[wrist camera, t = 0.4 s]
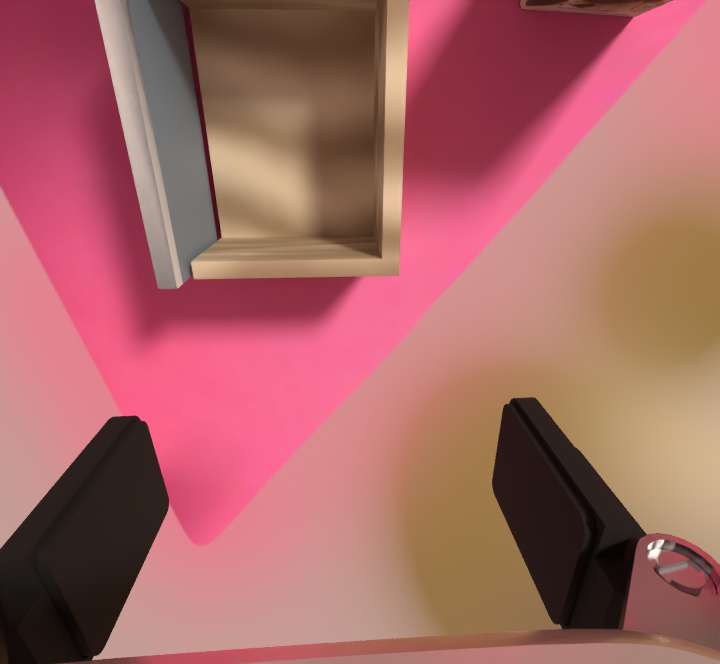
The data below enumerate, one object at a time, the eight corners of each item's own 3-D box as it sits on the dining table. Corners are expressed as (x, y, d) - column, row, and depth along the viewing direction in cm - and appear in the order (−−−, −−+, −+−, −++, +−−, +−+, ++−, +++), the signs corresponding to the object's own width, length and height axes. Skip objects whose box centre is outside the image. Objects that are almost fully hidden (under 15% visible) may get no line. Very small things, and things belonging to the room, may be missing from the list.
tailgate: (164, -11, 28) (73, -94, 18) (182, -11, 28) (101, -93, 18) (206, 250, 35) (158, 289, 26) (220, 249, 35) (177, 288, 26)
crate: (190, -9, 28) (130, -72, 20) (390, -6, 29) (411, -66, 21) (226, 248, 36) (193, 279, 28) (385, 246, 36) (399, 275, 28)
